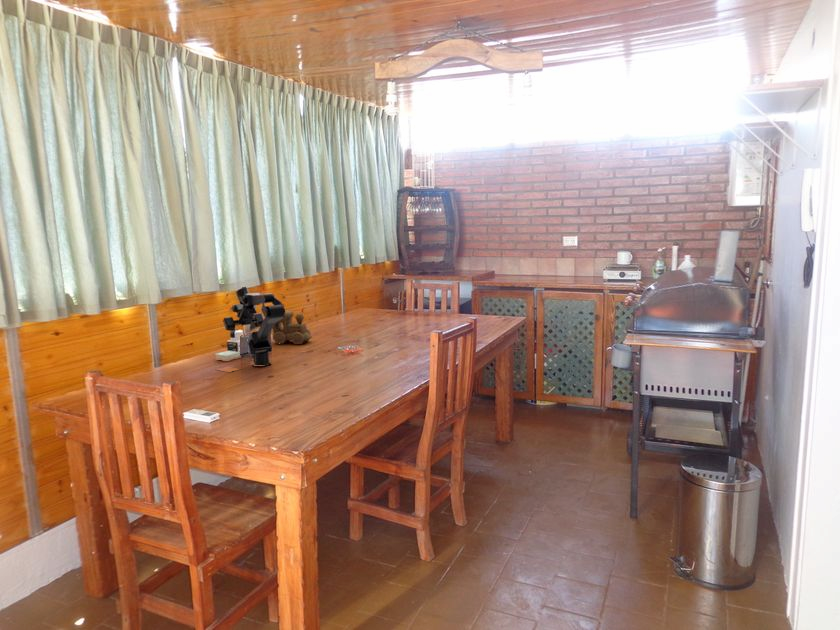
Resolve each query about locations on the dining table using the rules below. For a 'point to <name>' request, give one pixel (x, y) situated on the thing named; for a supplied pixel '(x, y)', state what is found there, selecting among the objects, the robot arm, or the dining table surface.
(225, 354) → the base block
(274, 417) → the dining table surface
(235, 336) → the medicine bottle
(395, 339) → the dining table surface
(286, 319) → the wooden toy train
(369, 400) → the dining table surface
